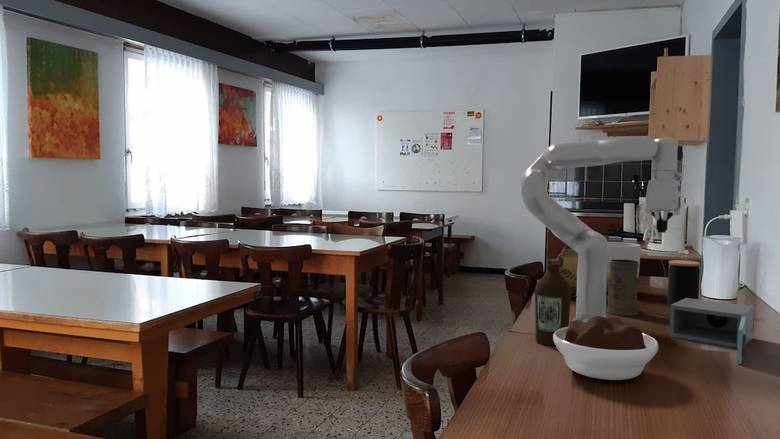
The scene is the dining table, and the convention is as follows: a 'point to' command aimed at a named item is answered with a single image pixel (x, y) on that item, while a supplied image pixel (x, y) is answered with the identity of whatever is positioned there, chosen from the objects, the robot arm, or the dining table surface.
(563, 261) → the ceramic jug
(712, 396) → the dining table surface
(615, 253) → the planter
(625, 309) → the beer stein
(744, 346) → the side door
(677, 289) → the coffee jar
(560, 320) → the olive oil
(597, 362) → the white dessert bowl
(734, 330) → the grey cabinet
